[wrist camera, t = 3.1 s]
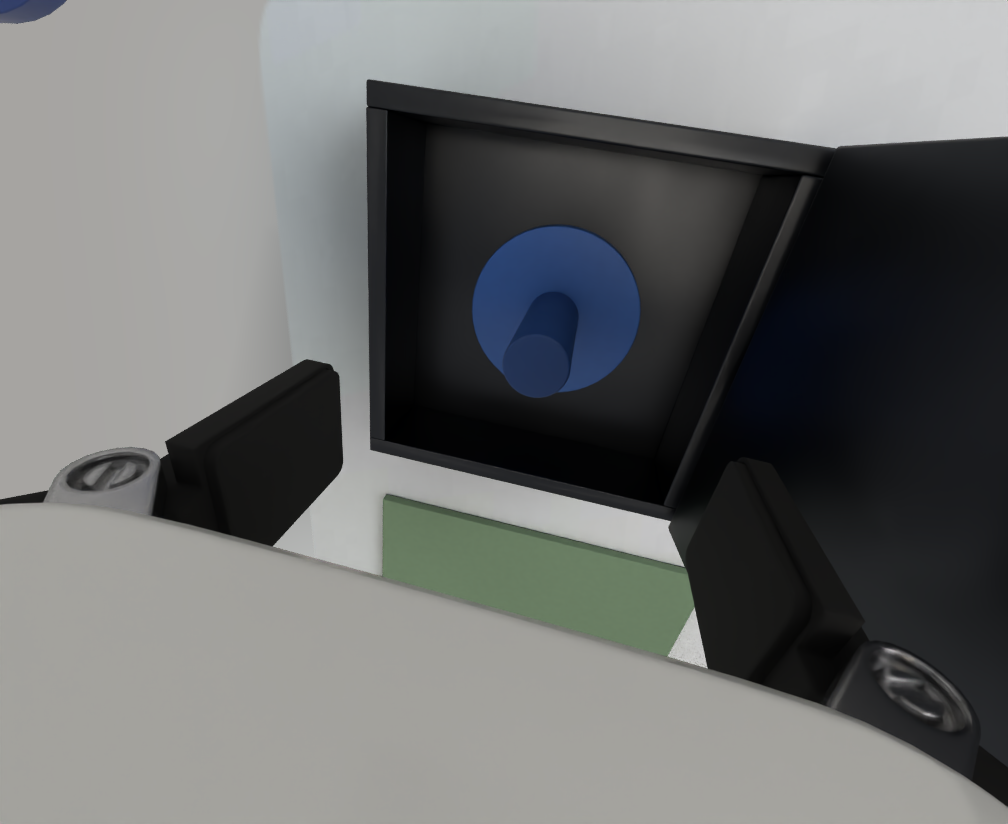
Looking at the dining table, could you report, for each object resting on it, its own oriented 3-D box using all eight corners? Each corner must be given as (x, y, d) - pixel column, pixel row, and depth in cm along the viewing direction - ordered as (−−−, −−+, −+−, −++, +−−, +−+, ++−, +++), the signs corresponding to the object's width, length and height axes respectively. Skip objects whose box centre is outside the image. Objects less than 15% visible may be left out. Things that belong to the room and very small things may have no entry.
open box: (405, 408, 27) (370, 450, 23) (416, 100, 19) (365, 78, 15) (662, 465, 25) (674, 522, 21) (784, 156, 18) (842, 148, 13)
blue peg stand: (468, 369, 24) (420, 438, 18) (485, 210, 20) (432, 224, 14) (613, 400, 23) (619, 484, 17) (662, 241, 19) (693, 271, 13)
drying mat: (384, 672, 41) (381, 679, 41) (386, 493, 30) (382, 499, 30) (616, 740, 39) (617, 748, 38) (707, 573, 28) (709, 580, 28)
